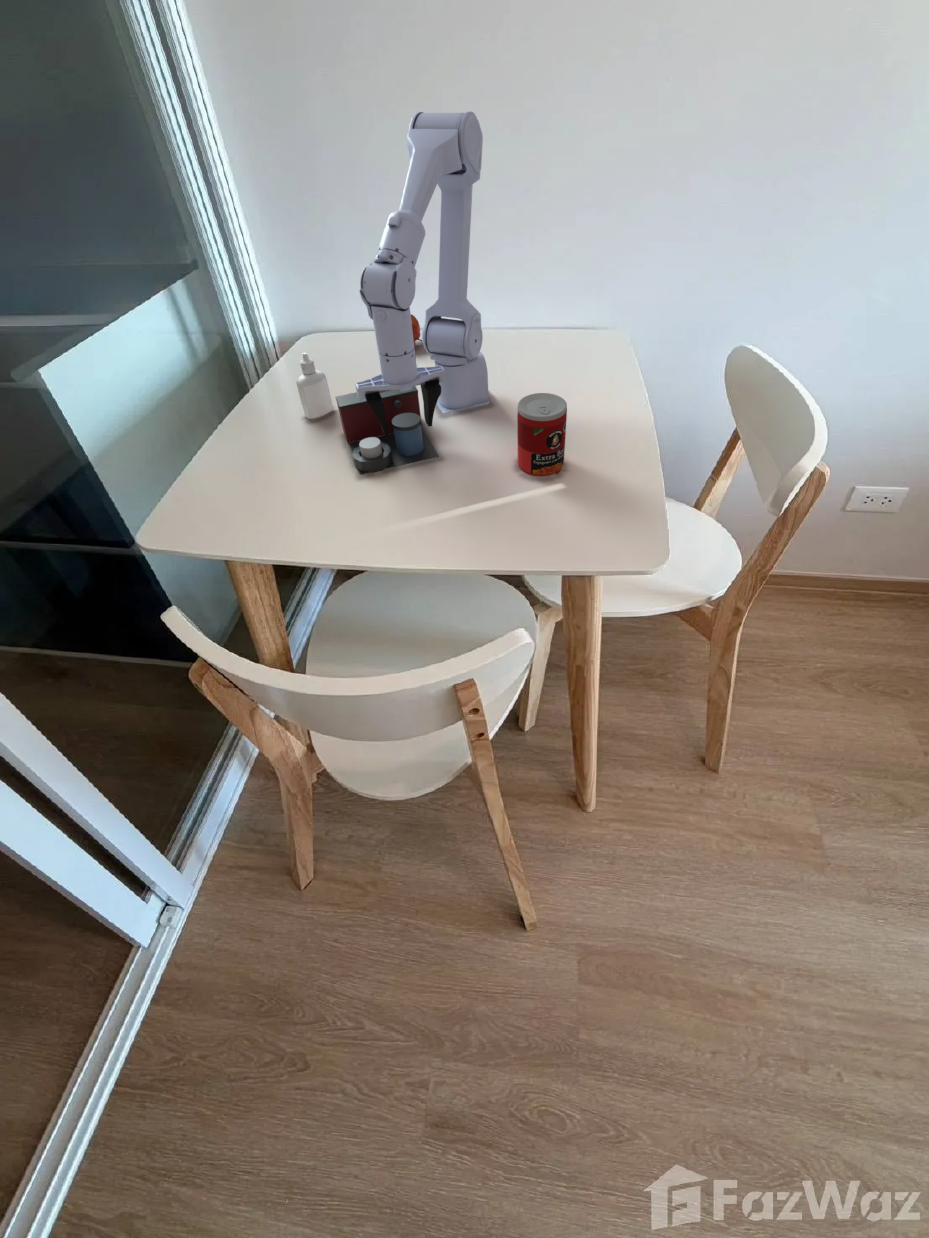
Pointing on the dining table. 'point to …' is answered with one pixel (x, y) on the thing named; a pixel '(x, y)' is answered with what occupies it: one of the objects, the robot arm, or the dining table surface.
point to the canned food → (541, 433)
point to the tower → (364, 421)
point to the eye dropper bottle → (313, 390)
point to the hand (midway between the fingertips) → (407, 428)
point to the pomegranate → (415, 329)
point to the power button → (370, 447)
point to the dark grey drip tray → (390, 455)
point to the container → (408, 433)
